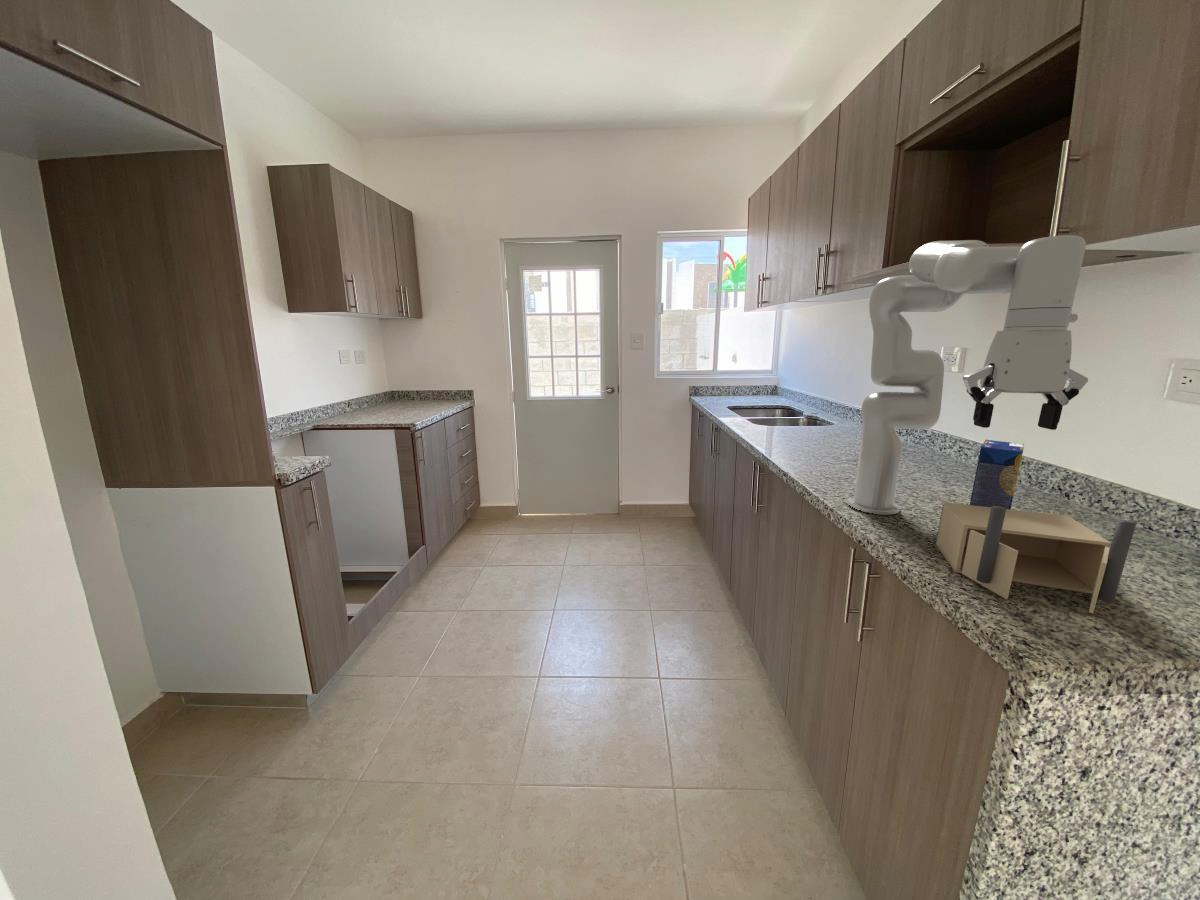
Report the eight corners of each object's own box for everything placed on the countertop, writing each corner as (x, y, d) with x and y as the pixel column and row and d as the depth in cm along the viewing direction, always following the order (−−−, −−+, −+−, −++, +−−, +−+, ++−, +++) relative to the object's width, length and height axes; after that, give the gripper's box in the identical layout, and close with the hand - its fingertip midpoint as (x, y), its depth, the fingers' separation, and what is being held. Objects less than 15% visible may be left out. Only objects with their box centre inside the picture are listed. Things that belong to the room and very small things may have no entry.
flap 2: (1088, 612, 76) (1112, 524, 73) (1092, 593, 82) (1114, 511, 78) (1110, 618, 74) (1136, 529, 71) (1112, 598, 80) (1136, 515, 77)
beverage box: (1004, 534, 108) (1024, 443, 103) (1001, 549, 101) (1022, 451, 96) (968, 526, 113) (985, 439, 108) (962, 540, 105) (980, 446, 100)
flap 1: (964, 573, 89) (979, 497, 85) (1007, 598, 80) (1026, 515, 77) (952, 573, 89) (967, 497, 85) (994, 598, 80) (1012, 515, 76)
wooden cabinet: (935, 544, 103) (943, 502, 101) (1056, 561, 95) (1067, 515, 93) (955, 572, 90) (964, 524, 88) (1096, 594, 83) (1110, 542, 80)
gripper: (1079, 322, 75) (1055, 425, 79) (961, 322, 78) (944, 422, 82) (1121, 320, 68) (1092, 433, 72) (990, 320, 71) (969, 429, 75)
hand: (1013, 427), depth 77 cm, fingers open, 9 cm apart
